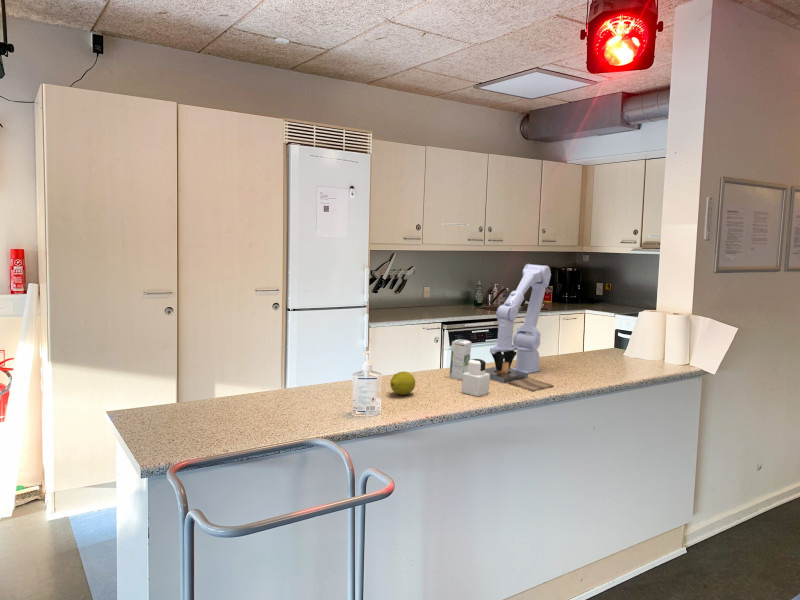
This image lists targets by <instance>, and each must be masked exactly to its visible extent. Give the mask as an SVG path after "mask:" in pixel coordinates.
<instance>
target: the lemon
mask: <svg viewBox="0 0 800 600" xmlns="http://www.w3.org/2000/svg"><path fill="white" fill-rule="evenodd" d="M389 383H390V385H389V386H390V389H391V390H392V392H394V393H395V394H397V395H399V396H400V395H401V396H403V395H404V396H405V395H408V394H410V393H411V392H412V391H413V390H414V389H415V387H416V379H415V377H414V375H413V374H412V373H410V372H409V371H399V372H397V373H395V374H394V375H393V376H392V378H391V379H390V382H389Z"/></svg>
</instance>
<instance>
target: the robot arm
mask: <svg viewBox="0 0 800 600" xmlns="http://www.w3.org/2000/svg"><path fill="white" fill-rule="evenodd" d="M551 272H552V271H551V268H550V266H548V265H540V264H531V263H527V264H525V265H524V267H523V269H522V277H521V280H520V281H519V284H518V286H517V288H516V289H515V290H512V291H511V292H510V294H509V295H508V297H507V298H506V300H505V301H504V303H503V304H501V305H500V306H498V308H496V309H497V310H496V312H495V314H496V315H495V316H496V318H497V319H496V320H497V324H498V325H497V326H498V328H497V341H496V342H497V343H496V344H497V345H495V346H493V347H490V349H489V354H491V356H492V358H493V361H494V364H495V366H494V367H496V370H498V371H501V370H502V364H503V361H507V362H509V369H514V370H517V371H521V372H524V373H528V374H530V373H536V372H540V371H541V369H540V368H539V367H540V366H539V365H540V353H539V351H538V349H539V347H540V345H541V332H540V331H539V329H538V328H537V324H538V321H539V317H540V314H541V310H542V304H543V301H544V296H545V293H546V289H547V288H548V287H549V284H550V280H551V276H552V273H551ZM530 287H531V288H532V289H531V294H530V297H529V301H528V306H527V310H526V314H525V318H524V322H523V325H520V326H519V327H518V328H517V329H516V331H515V334H513V333H514V321H515V320H516V319H517V317H518V313H519V308H520V307H521V305H522V303H524V300H525V294H526V293H527V291H528V290H529V288H530ZM513 335H514V336H513ZM515 357H516V358H515ZM514 359H515V360H516V361H515V367H511V366H512V363H513V361H514Z"/></svg>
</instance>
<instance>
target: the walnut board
mask: <svg viewBox="0 0 800 600" xmlns="http://www.w3.org/2000/svg"><path fill="white" fill-rule="evenodd" d="M507 384H508V385H512V386H515V387H516V388H520V387H521V388H520V389H523V390H527V389H528V391H530V390H531V391H530V392H536V390H538V391H540V390H541V389H542V390H546V389H549V387H550V388H554V387H555V385H553V384H551V383H547V382H545V381H544V382H543V381H540V380H537V379H533V378H529V377H528V378H526V379H521V380H516V381H511V382H508V383H507ZM545 388H546V389H545ZM542 390H541V391H542Z"/></svg>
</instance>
